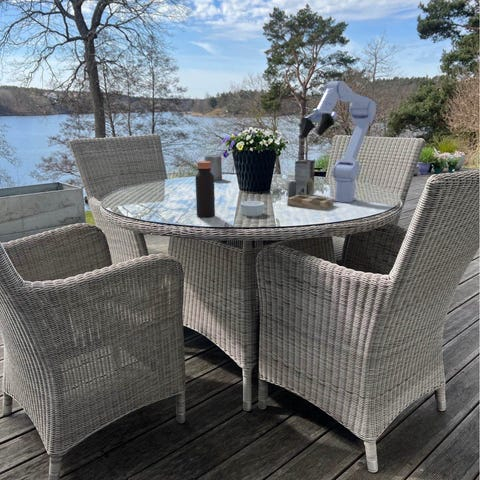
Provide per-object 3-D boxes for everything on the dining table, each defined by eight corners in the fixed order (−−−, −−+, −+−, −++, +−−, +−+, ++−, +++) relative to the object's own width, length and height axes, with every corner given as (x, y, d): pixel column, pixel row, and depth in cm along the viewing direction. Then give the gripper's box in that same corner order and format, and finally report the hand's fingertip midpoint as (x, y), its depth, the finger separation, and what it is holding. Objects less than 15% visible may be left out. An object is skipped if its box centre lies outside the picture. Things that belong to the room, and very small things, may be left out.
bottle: (193, 216, 157) (191, 162, 151) (204, 212, 162) (202, 160, 156) (207, 218, 153) (205, 163, 147) (218, 215, 159) (217, 161, 153)
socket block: (298, 201, 183) (298, 193, 182) (332, 205, 174) (333, 197, 173) (287, 205, 175) (287, 197, 174) (323, 209, 166) (323, 201, 165)
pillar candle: (215, 177, 251) (214, 152, 247) (225, 179, 244) (224, 153, 240) (202, 179, 246) (200, 153, 241) (211, 181, 238) (210, 154, 234)
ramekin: (268, 214, 161) (268, 202, 159) (253, 218, 154) (253, 206, 153) (250, 210, 166) (250, 199, 165) (235, 214, 160) (235, 203, 159)
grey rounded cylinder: (290, 198, 189) (290, 179, 186) (297, 199, 187) (298, 180, 184) (286, 199, 186) (287, 180, 183) (293, 200, 184) (294, 181, 182)
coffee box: (301, 193, 201) (302, 159, 197) (313, 194, 198) (315, 159, 193) (293, 196, 194) (294, 161, 189) (306, 197, 191) (308, 161, 186)
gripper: (305, 102, 162) (290, 130, 159) (335, 96, 151) (320, 125, 147) (315, 115, 166) (301, 142, 163) (345, 109, 155) (330, 138, 152)
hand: (311, 135), depth 155 cm, fingers open, 7 cm apart
